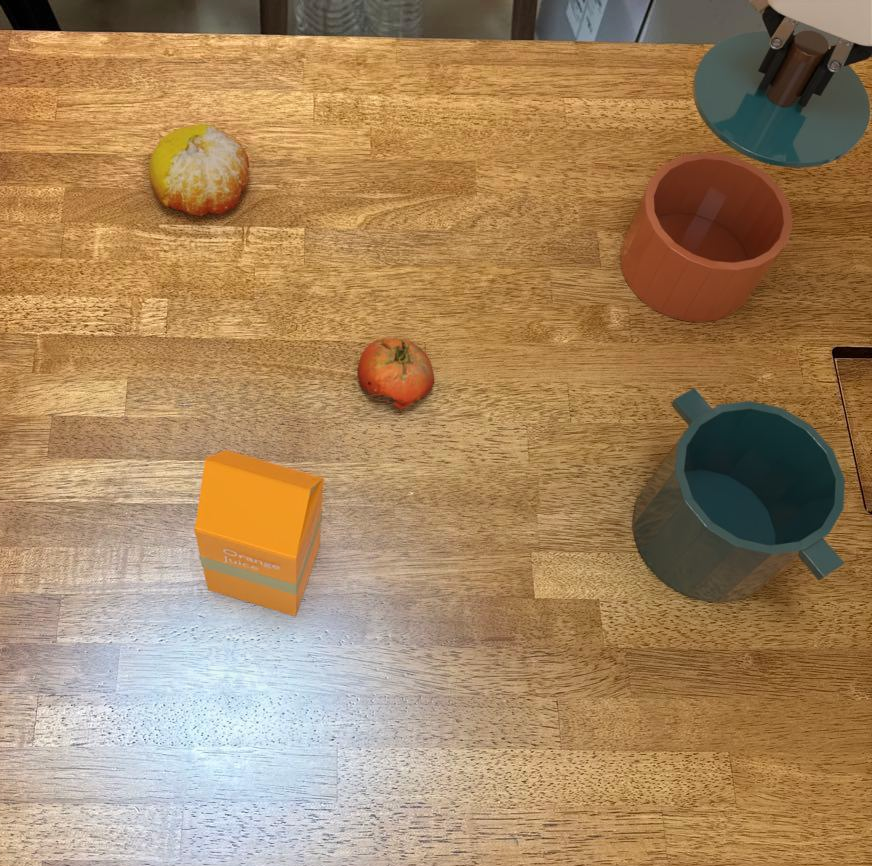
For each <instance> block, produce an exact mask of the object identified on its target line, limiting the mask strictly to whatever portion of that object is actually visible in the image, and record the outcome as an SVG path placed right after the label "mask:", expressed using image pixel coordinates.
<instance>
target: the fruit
mask: <svg viewBox="0 0 872 866" xmlns="http://www.w3.org/2000/svg"><path fill="white" fill-rule="evenodd" d="M249 169H250V161H249V156H248V153H247V151H246V149H245V148H244V147H243V145H242V143H241V142H240V141H238V140H237V139H235V138H234V137H232V136H229V135H228V134H227V133H226V132H225V131H223V130H221V129H217V127H216V126H213V125H210V124H206V123H198V124H194V125H190V126H185V127H182V128H177V129H175V130H173V131H170V132H168V133H167V134H166V135H165V136H163V137H162V138H161V140H160V141H159V142H158V143H157V145H156V146H155V148H154V150H153V151H152V153H151V156H150V159H149V162H148V168H147V171H148V173H147V174H148V178H149V182H150V184H151V187H152V189H153V192H154V194H155V196H156V198H157V200H158V201H159V202H160V203H161V204H162V205H163V206H164V207H165V208H166V207H168V208H172V209H173V210H178V211H183V212H185V213H186V214H188V215H189V216H200V217H202V216H203V215H207V214H208V213H211V214H215V215H225V213H227V211H229V210H231V209H233V208H235V207H236V206H237V205H238V203H239V202H240V197H241V195H242V193H243V191H244V190H245V189H246V188H247V185H248V182H249V180H250V172H249Z"/></svg>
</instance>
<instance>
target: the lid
mask: <svg viewBox="0 0 872 866" xmlns="http://www.w3.org/2000/svg"><path fill="white" fill-rule="evenodd" d="M794 35H795V36H794V38H793V40H792V42H791V44H790V46H789V48H788V50H787V52H786V54H785V56H784V58H783V60H782V62H781V64H780V66H779V68H778V69H777V71H776V73H775V75H774V77H773V79H772V80H771V82H770V84H769V86H768V88H767V90H765V89H764V90H761V89H758V87H759V85H760V83H761V81H762V79H763V77H764V75H765V74H763V73H761V72H759V71H758V70H759V68H760V66H761V64H762V62H763V60H764V58H765V56H766V54H767V52H768V50H769V48H770V45H769V41H770V39H771V38H770V36H769V33H768V31H767V30H754V31H747V32H741V33H738V34H734V35H732V36H729V37H726V38H724V39H722V40H720V41H719V42H717V43H716V44H715V45H713V46H712V47H710V48H709V49H708V51H706V53H705V54H704V55H703V57H702V58H701V59H700V61H699V63H698V65H697V67H696V70H695V71H694V74H693V79H692V96H693V97H692V98H693V101H694V104H695V107H696V110H697V112H698V114H699V116H700V118H701V120H702V121H703V123H704V124H705V125H706V126H707V128H708V129H709V130H710V131H711V132H712V134H713V135H714V136H716V138H718V139H719V140H720V141H722V143H724V144H725V145H726V146H728V147H729V148H731V149H733V150H734V151H736V152H738V153H739V154H741V155H743V156H745V157H748V158H749V159H751V160H755V161H757V162H759V163H764V164H767V165H770V166H771V165H772V166H775V167H782V168H795V169H800V168H801V169H802V168H803V169H804V168H813V167H819V166H823V165H827V164H830V163H832V162H835V161H837V160H839V159H841V158H842V157H844V156H845V155H847V154H849V152H851V151H852V150H853V149H854V148H855V147H856V146H857V145H858V144H859V142H860V141H861V139H862V138H863V136H864V135H865V133H866V131H867V130H868V126H869V123H870V117H871V103H870V99H869V94H868V91H867V89H866V87H865V85H864V83H863V81H862V80H861V78H860V76H858V74H857V72H856V71H855V70H854V69H853V68H852V67H851V66H850V65H847V66H844V67H842V69H841V70H840V71H838V72H835V73H834V75H833V76H832V78H831V80H830V81H829V83H828V85H827V86H826V88H825V89H824V91H823V93H822V94H821V96H819V95H816V94H813V95H812V96H811V98H810V100H809V101H808V103H807V105H806V106H805V107H803V106H800V103H798V102H799V100H800V97H801V95H802V94H803V92H804V90H805V89H806V87H807V85H808V83H809V82H810V80H811V78H812V77H813V75H814V73H815V71H816V70H817V68H818V66H819V65H820V63H821V61H822V60H823V58H824V57H825V55H826V53H827V51H828V49H830V43H829V40H828V38H826V36H824V35H823V34H822V33H820V32H818V31H816V30H811V29H804V30H801V31H798V32H796V34H794Z"/></svg>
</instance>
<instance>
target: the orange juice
mask: <svg viewBox="0 0 872 866" xmlns="http://www.w3.org/2000/svg"><path fill="white" fill-rule="evenodd" d="M323 493H324V477H321V476H317V475H314V474H311V473H307V472H303V471H301V470H297V469H294V468H289V467H286V466H283V465H279V464H276V463H273V462H269V461H265V460H262V459H259V458H256V457H251V456H249V455H246V454H242V453H238V452H235V451H231V450H227V449H224V450H222V451H220V452H218V453H215V454H213V455H212V454H211V455H210V456H208V457H207V456H206V457H205V458H204V465H203V473H202V478H201V486H200V493H199V499H198V504H197V505H198V506H197V512H196V518H195V524H194V527H193V531H194V535H195V539H196V544H197V548H198V552H199V560H200V564H201V567H202V571H203V574H204V578H205V583H206V587H207V591H210V592H214V593H217V594H221V595H223V596H227V597H231V598H234V599H237V600H240V601H243V602H246V603H250V604H253V605H257V606H260V607H264V608H266V609H270V610H273V611H276V612H280V613H283V614H286V615H290V616H293V617H297V614H298V612H299V609H300V606H301V602H302V599H303V597H304V593H305V592H306V588H307V585H308V582H309V579H310V576H311V573H312V570H313V567H314V564H315V561H316V558H317V555H318V552H319V549H320V546H321V528H322V519H323V497H324V496H323V495H324V494H323Z"/></svg>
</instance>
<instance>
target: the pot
mask: <svg viewBox="0 0 872 866" xmlns="http://www.w3.org/2000/svg"><path fill="white" fill-rule="evenodd" d="M670 405H671V407H672V408H673V409H674V410H675V411H676V412H677V414H678V415H679V416H680V418H681V419H682V420H683V421H684V422H685V423H686V425H687V426H688V427H686V429H685V430H684V432H683V433H682V435H681V436H680V437H679V438H678V440H677V441H676V442H675V444H674V445H673V447H672V448H671V450H670V451H669V452H668V454H667V455H666V456H665V458H664V459H663V461H662V462H661V464H660V465H659V466H658V468H657V469H656V470H655V472H654V473H653V475H652V476H651V478H650V479H649V480H648V481H647V484H646V485H645V486H644V488H643V489H642V491H641V492H640V494H639V495H638V497H637V498H636V500H635V505H634V509H633V514H632V533H633V537H634V538H633V539H634V542H635V544H636V548H637V550H638V552H639V554H640V556H641V558H642V560H643V561H644V563H645V564H646V566H647V567H648V568H649V570H650V571H651V572H652V573H653V574H654V575H655V576H656V577H657V578H658V579H659V580H660V581H661V582H662V583H663V584H665V585H666V586H668V587H669V588H671V589H672V590H674V591H676V592H677V593H679V594H681V595H684V596H687V597H689V598H692V599H696V600H698V601H703V602H709V603H727V602H733V601H738V600H741V599H745V598H748V597H750V596H751V595H753V594H754V593H756V592H758V591H759V590H761V589H762V588H764V587H765V586H768V584H770V583H771V582H772V581H774V579H776V578H777V577H779V575H781V574H782V573H783V572H784V571H785V570H787V569H788V568H790V567H791V566H792V565H793V564H794V563H795V562H796V561H798V560H799V559H800V561H801V562H802V563H803V564H804V565H805V567H806V568H807V569H808V570H809V571H810V573H811V574H812V575H813V576H814V577H815V579H816V580H818V581H821V580H823V579H824V578H826V577H827V576H829V575H830V574H832V573H833V572H835V571H836V570H838V569H840V568H842V566H844V565H845V562H844V560H843V559H842V558H841V557H840V556H839V554H837V553H836V551H835V550H834V549H833V548H832V546H831V545H830V544H829V543H828V542H827V540H826V539H825V538H826V537H828V535H830V533H831V532H832V530H833V528H834V526H835V525H836V523H837V521H838V519H839V518H840V516H841V514H842V513H843V510H844V509H845V487H846V486H845V485H846V479H845V476H844V474H843V471H842V469H841V466H840V463H839V461H838V458H837V456H836V453H835V451H834V449H833V448H832V447H831V446H830V445H829V443H828V442H827V441H826V440H825V439H824V437H823V436H821V434H820V433H819V432H818V431H817V430H816V429H815V428H814V426H813V425H811V424H810V423H808V422H807V421H805V420H803V419H801V418H800V417H798V416H797V415H794V414H793V413H791V412H790V411H788V410H787V409H785V408H783V407H780V406H774V405H770V404H767V403H761V402H756V401H753V400H752V401H751V400H746V401H737V402H730V403H721V404H718V405H716V406H714V407H712V406H711V405H710V404H709V403H708V402H707V401H706V400H705V398H704V397H703V396H702V395H701V394H700V392H698V390H697V389H696V388H695V387H694V388H691V389H690V390H688V391H686V392H684V393H682V394H680V395H679V396H677V397H675V398H674V399H673V401H672V402H671V404H670Z"/></svg>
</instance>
